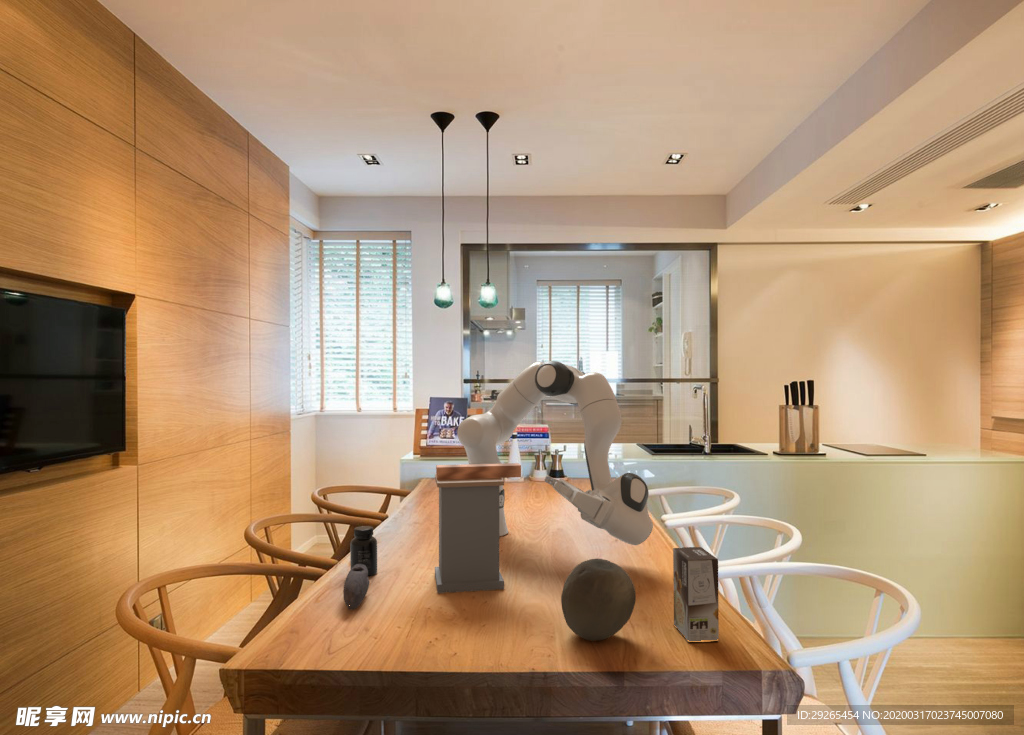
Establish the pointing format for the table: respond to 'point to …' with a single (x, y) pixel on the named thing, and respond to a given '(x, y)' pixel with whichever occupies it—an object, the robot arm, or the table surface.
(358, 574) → the perforated stone tool
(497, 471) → the bar
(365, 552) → the supplement bottle
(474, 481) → the stand
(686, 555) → the coffee box
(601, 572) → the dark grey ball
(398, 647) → the table surface
